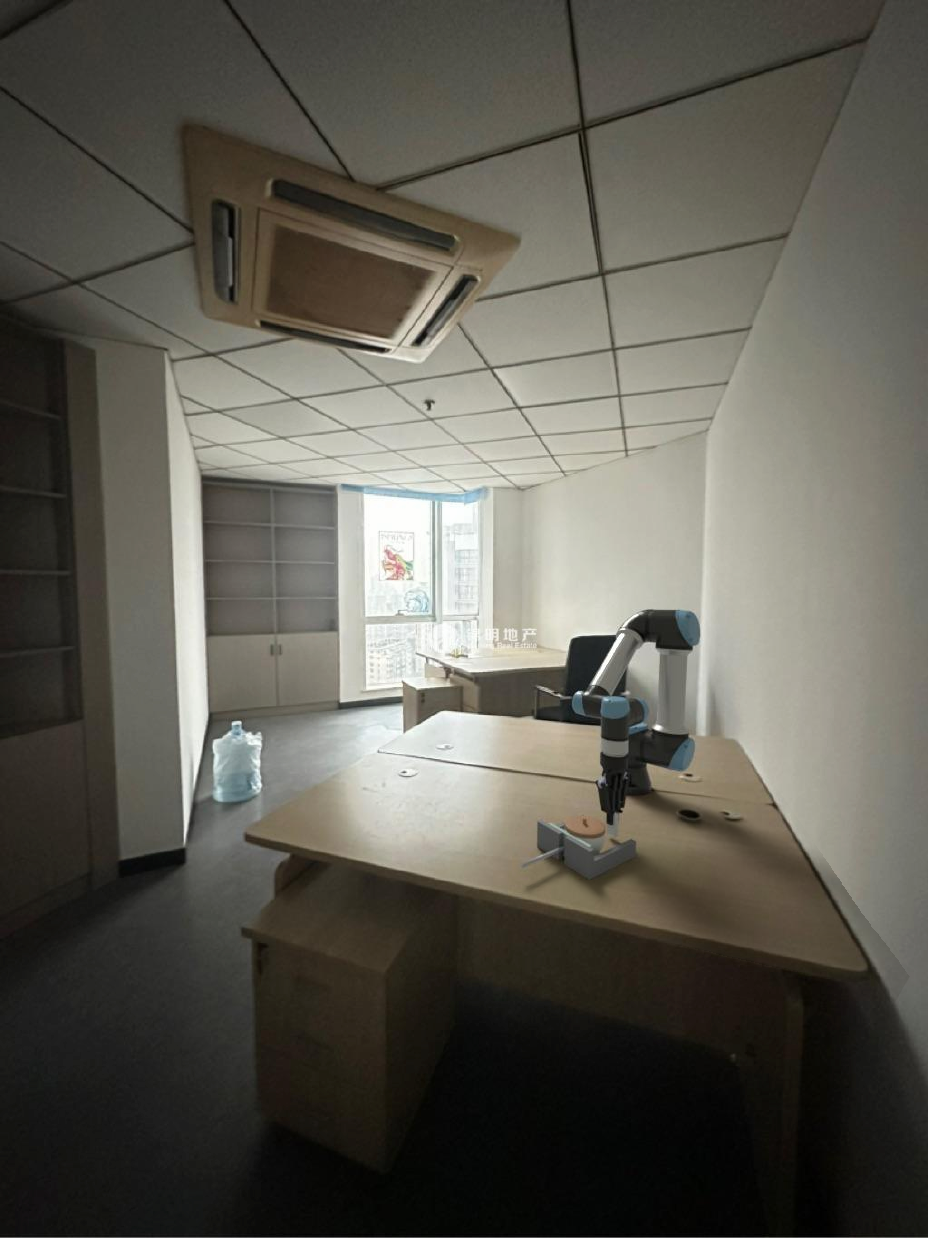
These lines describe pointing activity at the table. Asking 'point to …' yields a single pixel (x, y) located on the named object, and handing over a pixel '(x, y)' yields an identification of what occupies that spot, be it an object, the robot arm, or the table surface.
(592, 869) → the grey fixture frame
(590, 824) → the lidded jar
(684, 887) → the table surface
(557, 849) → the pusher
